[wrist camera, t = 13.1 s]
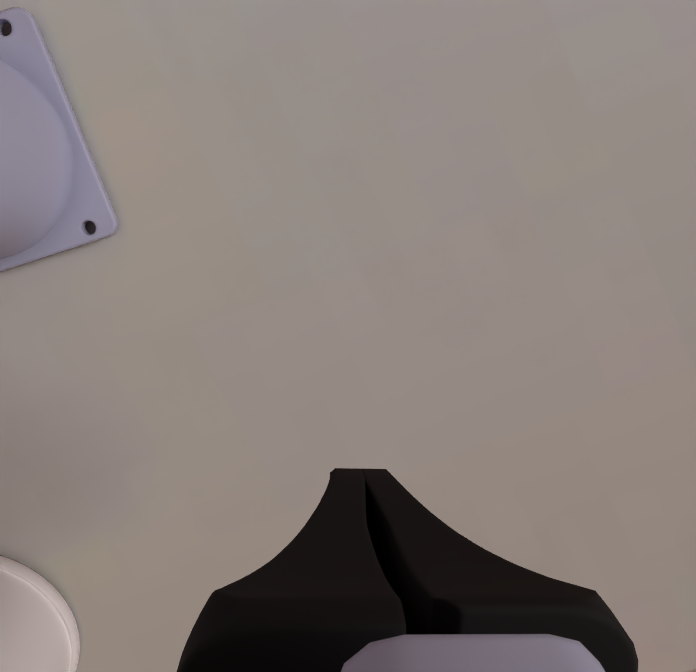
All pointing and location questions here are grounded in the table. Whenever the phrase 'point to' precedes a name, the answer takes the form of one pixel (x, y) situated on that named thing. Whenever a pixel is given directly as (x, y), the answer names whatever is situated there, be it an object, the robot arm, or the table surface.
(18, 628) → the white oil can
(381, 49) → the table surface
